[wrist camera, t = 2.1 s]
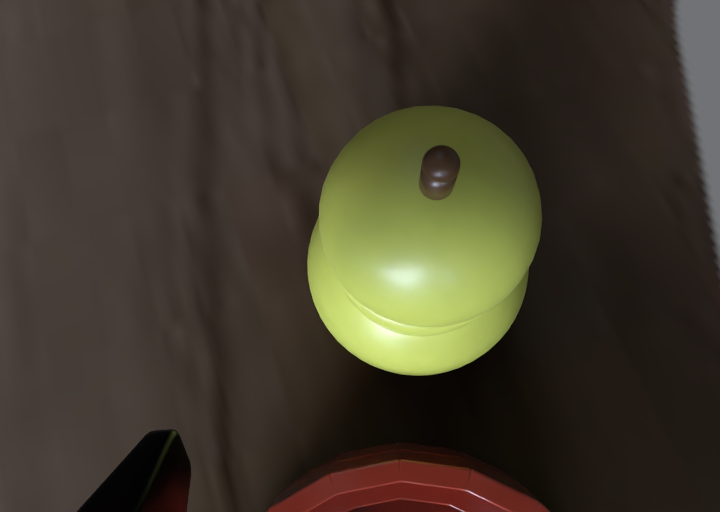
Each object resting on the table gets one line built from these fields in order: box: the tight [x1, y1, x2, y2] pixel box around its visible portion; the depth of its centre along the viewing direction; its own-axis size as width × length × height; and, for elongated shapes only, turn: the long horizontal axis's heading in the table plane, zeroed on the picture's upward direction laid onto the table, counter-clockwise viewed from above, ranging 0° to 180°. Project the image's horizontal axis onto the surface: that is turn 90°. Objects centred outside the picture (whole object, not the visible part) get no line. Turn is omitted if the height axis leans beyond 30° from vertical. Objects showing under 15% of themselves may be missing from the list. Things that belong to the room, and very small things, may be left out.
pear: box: [307, 105, 542, 376], centre depth 15 cm, size 7×7×12 cm
